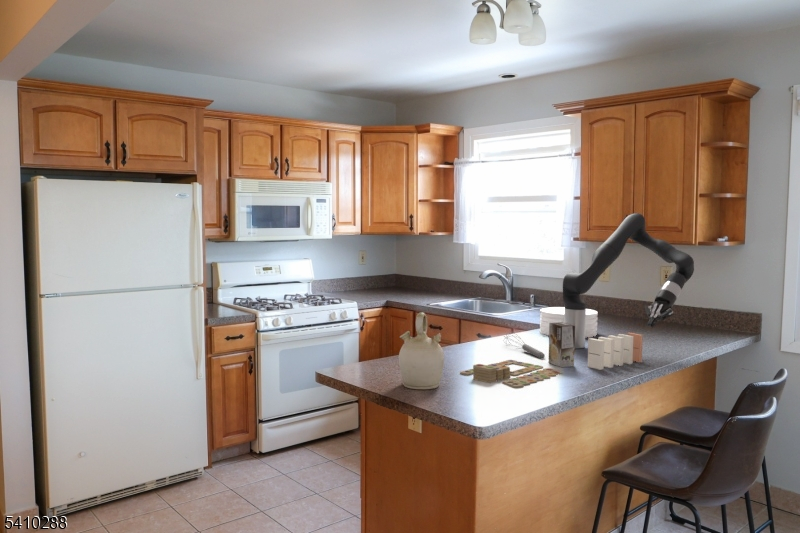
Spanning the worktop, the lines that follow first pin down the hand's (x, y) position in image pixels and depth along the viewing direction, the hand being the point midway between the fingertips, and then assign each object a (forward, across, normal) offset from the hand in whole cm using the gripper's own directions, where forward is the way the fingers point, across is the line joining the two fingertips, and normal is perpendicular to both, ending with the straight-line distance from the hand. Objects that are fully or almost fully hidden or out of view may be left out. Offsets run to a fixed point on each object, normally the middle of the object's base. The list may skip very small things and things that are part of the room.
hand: (649, 326), depth 264 cm
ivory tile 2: (+25, 0, +7) cm, 26 cm away
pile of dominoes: (+57, +10, +39) cm, 70 cm away
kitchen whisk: (+34, +37, +15) cm, 52 cm away
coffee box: (+38, +11, +20) cm, 44 cm away
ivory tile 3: (+29, 0, +11) cm, 31 cm away
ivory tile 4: (+33, 0, +15) cm, 37 cm away
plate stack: (-2, +58, -23) cm, 62 cm away
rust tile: (+16, 0, -2) cm, 17 cm away
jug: (+84, +15, +67) cm, 108 cm away
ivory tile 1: (+21, 0, +2) cm, 21 cm away
